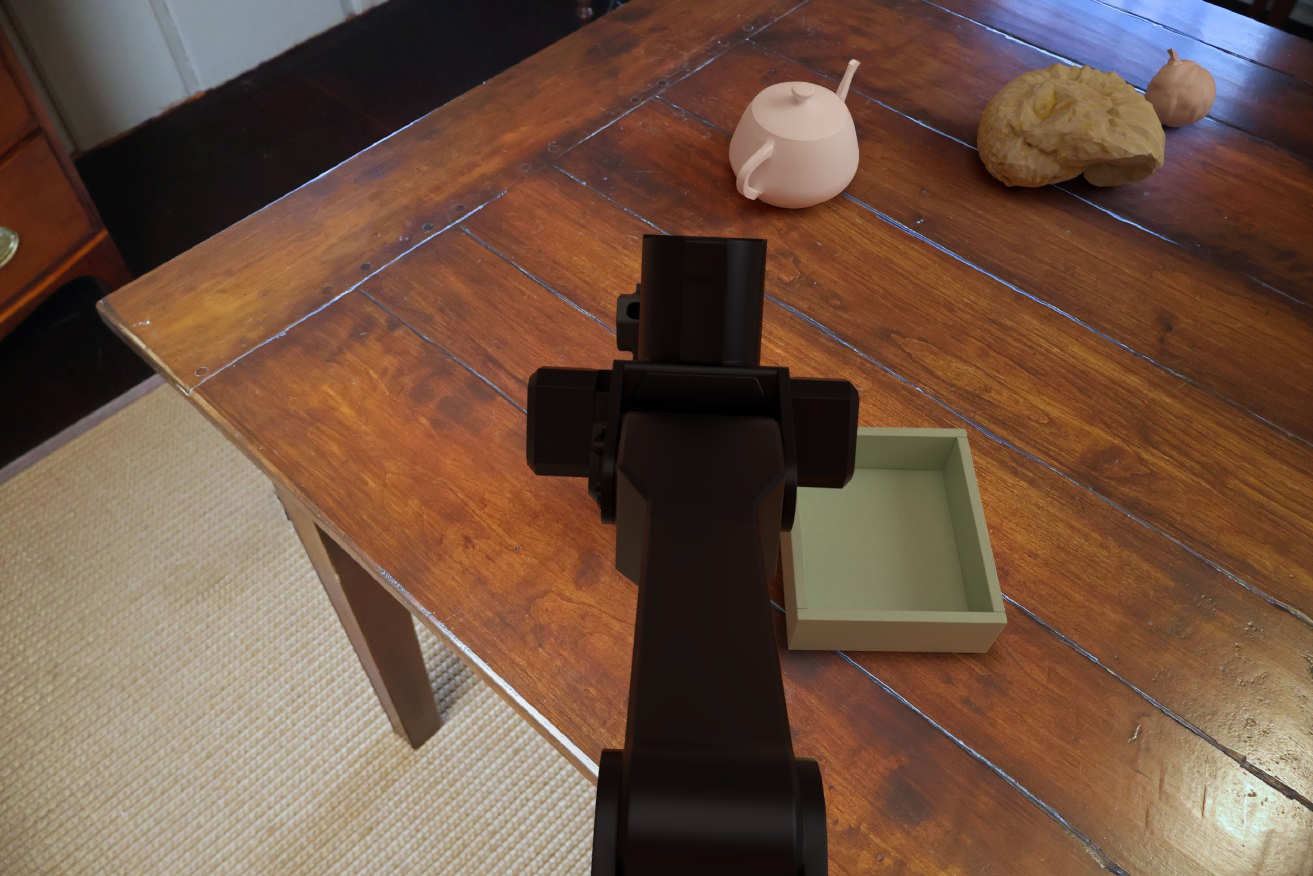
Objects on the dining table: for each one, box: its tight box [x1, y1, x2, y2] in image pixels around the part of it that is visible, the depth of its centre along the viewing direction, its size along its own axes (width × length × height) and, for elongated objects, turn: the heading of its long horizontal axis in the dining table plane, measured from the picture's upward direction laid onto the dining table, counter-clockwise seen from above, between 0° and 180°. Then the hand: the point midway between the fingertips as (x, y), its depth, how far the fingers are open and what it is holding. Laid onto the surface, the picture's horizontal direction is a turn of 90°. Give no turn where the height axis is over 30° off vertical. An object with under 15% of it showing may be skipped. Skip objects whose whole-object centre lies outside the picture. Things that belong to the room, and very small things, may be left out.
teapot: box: [728, 58, 861, 209], centre depth 91 cm, size 20×12×10 cm, turn 142°
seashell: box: [976, 62, 1166, 188], centre depth 92 cm, size 17×11×15 cm
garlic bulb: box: [1143, 47, 1217, 128], centre depth 98 cm, size 7×6×8 cm
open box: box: [779, 426, 1008, 654], centre depth 68 cm, size 16×14×5 cm
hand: (689, 409), depth 64 cm, fingers closed on pill bottle, 6 cm apart
